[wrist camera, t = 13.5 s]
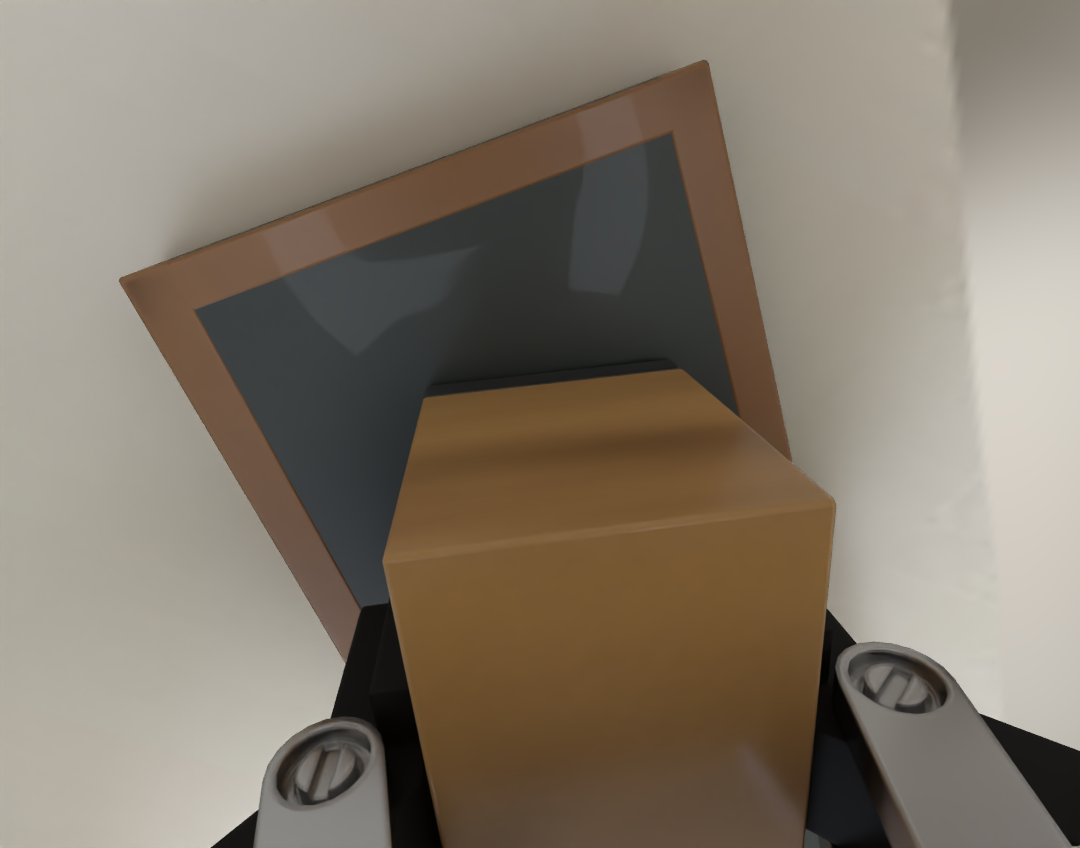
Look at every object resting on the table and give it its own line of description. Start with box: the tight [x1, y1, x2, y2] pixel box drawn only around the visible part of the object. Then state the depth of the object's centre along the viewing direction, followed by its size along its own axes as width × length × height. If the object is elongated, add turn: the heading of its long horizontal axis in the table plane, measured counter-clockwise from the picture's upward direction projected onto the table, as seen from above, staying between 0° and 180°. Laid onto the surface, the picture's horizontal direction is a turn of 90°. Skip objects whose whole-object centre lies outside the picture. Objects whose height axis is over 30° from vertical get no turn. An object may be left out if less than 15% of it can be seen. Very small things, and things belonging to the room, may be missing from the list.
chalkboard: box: [119, 60, 820, 848], centre depth 13 cm, size 22×9×1 cm, turn 19°
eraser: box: [382, 359, 836, 848], centre depth 9 cm, size 8×4×5 cm, turn 5°
